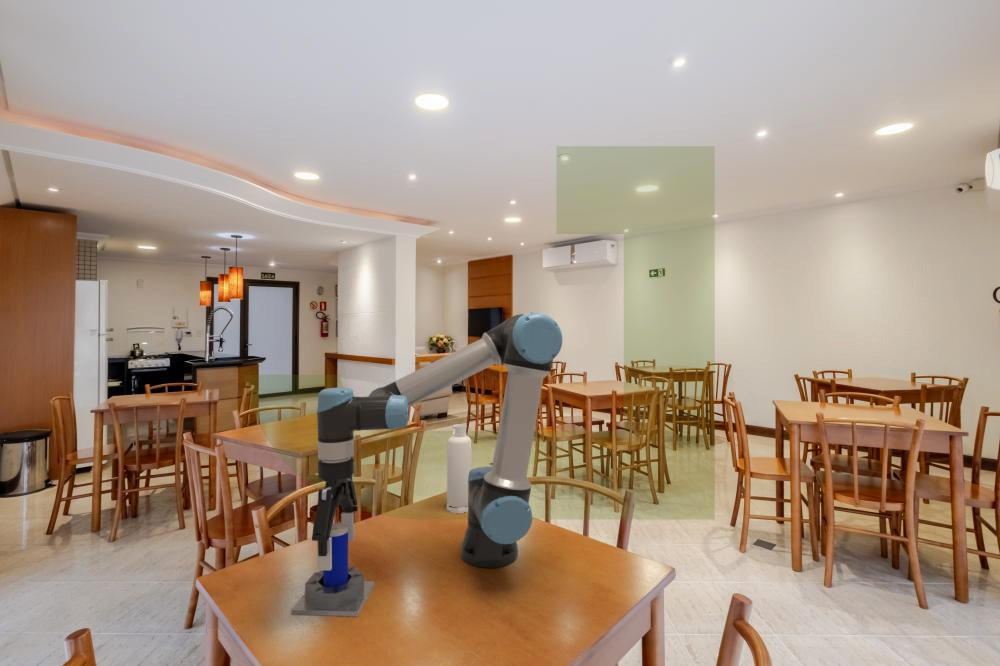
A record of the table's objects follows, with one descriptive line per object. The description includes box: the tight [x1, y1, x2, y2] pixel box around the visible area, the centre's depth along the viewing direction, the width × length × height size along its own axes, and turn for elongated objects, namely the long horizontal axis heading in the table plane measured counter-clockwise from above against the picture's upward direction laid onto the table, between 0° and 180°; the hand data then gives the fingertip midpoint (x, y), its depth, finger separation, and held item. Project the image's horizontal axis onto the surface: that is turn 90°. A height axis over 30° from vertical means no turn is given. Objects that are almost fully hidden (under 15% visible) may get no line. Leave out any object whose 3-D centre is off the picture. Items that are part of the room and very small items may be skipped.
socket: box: [290, 566, 375, 617], centre depth 106 cm, size 14×12×4 cm
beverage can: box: [323, 522, 349, 587], centre depth 106 cm, size 5×5×15 cm
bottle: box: [446, 423, 473, 514], centre depth 160 cm, size 8×8×28 cm
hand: (336, 554), depth 106 cm, fingers open, 13 cm apart
